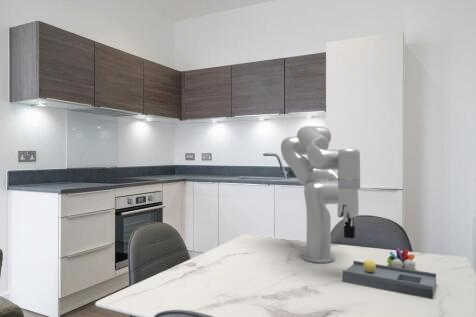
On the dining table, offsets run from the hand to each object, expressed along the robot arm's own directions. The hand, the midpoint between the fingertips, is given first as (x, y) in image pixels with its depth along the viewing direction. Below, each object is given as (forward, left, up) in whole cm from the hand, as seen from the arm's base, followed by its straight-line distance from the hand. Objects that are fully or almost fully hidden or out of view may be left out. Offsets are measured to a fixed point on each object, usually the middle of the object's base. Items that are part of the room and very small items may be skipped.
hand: (349, 237), depth 119 cm
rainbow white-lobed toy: (+13, +20, -14) cm, 28 cm away
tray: (+13, 0, -13) cm, 18 cm away
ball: (+7, 0, -9) cm, 11 cm away
